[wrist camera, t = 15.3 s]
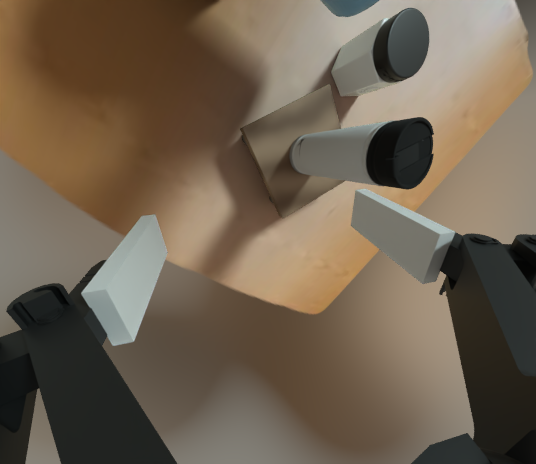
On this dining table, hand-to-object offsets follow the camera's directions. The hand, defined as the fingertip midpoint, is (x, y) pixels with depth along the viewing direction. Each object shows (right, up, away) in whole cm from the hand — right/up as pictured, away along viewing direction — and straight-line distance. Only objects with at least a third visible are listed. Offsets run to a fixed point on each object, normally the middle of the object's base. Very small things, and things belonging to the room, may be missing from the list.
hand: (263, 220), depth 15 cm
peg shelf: (+4, +14, +28) cm, 31 cm away
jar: (+16, +30, +27) cm, 43 cm away
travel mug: (+6, +12, +22) cm, 26 cm away
